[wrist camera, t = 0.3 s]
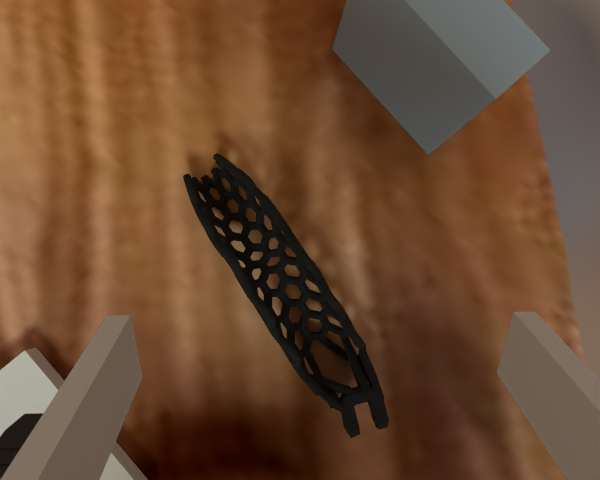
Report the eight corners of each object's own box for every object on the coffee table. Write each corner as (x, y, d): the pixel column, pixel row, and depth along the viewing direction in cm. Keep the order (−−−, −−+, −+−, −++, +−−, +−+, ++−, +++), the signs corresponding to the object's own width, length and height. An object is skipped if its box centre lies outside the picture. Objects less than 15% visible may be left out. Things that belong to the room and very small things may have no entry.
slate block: (468, 119, 35) (550, 50, 25) (428, 155, 34) (496, 99, 25) (374, 16, 36) (418, -91, 26) (331, 49, 35) (360, -48, 25)
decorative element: (175, 189, 32) (156, 167, 26) (230, 155, 33) (224, 126, 27) (341, 434, 31) (359, 467, 25) (394, 393, 32) (423, 415, 26)
